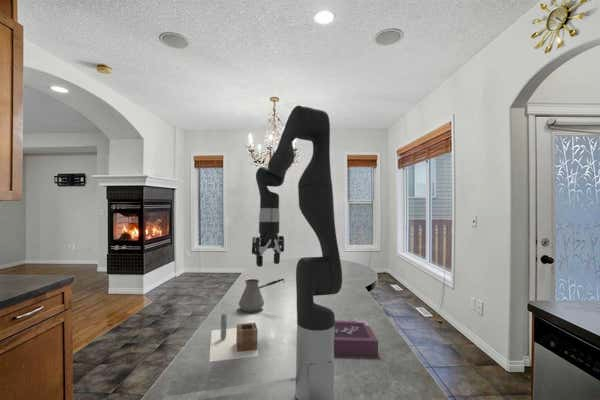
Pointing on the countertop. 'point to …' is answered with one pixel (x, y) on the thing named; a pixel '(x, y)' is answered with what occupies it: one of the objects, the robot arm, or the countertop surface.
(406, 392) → the countertop surface
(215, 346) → the board
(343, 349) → the book
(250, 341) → the brown wooden hollow cube
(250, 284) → the coffee pot
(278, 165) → the robot arm
